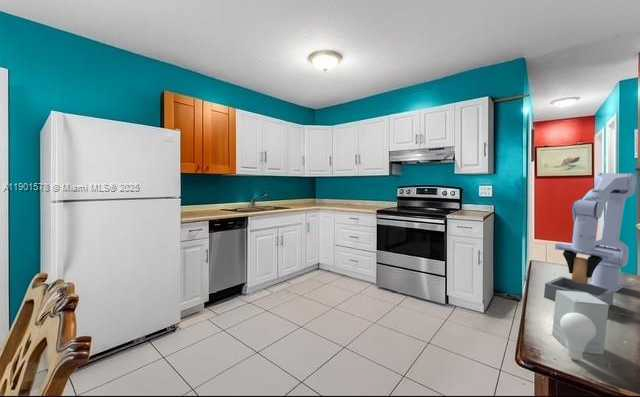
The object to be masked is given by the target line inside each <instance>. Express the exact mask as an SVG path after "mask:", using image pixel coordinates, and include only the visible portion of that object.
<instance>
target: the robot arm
mask: <svg viewBox="0 0 640 397" xmlns="http://www.w3.org/2000/svg"><path fill="white" fill-rule="evenodd" d="M636 185H637V176H636V174H635V173H613V172H611V173H603V172H598V173H597V174H596V176H595V178H594V187H595V188H592V189H590V190H589V191H588V192H586V194H585V195H584V196H583V197H582V198H581V199H578V200H575V201H574V202H573V206H572V211H571V212H572V220H573V222H574V224H573V230H572V231H573V233H572V242H571V244H564V243H555V248H554V249H555V250H556V251H557V250H558V251H559V250H560V251H563V252H562V255H563V257H564V259H565V261H566V264H567V268H568V273H569V274H572V272H573V263H574V257H577V254H579V255H585V256H588V257H587V259H588V271H587V278H588V279H590V278H592V280H591V281H590V282H589V281H588V283H589V284H593V285H596V286H600V287H604V288H608V289H612V290H614V293H616V292H618V291H619V290H621V289H623V288H624V285H621V277H622V269H621V267H622V268H623V267H625V266H627V264H628V262H629V254H630V253H629V246H627V244H626V243H625V242H622V241H621V240H620V235H621V229H622V222H623V218H624V216H623V215H624V210H625V203H626V200H627V198H629V197H632V196H634V194H635V191H636ZM605 205H606V208H605ZM604 210H605V214H604V221H603V228H602V234H601V238H598V239H597V235H598V227H599V226H598V225H599V219H600V218H601V217H602V215H603V212H604Z"/></svg>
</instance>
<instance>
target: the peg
mask: <svg viewBox="0 0 640 397" xmlns="http://www.w3.org/2000/svg"><path fill="white" fill-rule="evenodd" d="M587 271H588V258H585V257H579V256H576V257H574V263H573V272H572V275H571V279H572V281H573V282H576V283H580V284H587V283H589V278H587Z"/></svg>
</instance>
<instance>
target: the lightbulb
mask: <svg viewBox="0 0 640 397" xmlns="http://www.w3.org/2000/svg"><path fill="white" fill-rule="evenodd" d="M560 325H561V328H562V331H563V333H564V334H565V337H566V345H567V348H566V350H567V352H566V353H567V356H568V357H569V358H571V359H572V360H573V361H579V360H582V358H583V354H584V353H583V352H584V350H585V347H586V345H587V343H588V342H589V341H591V340H592V339H593V338H594V337H595V335H596V327H595V325H594V323H593V322H592V321H591V320H590V319H589V318H588V317H586V316H584V315H582V314H580V313H567V314H565V315H564V316H563V317H562V318H561V320H560Z"/></svg>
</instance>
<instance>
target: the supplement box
mask: <svg viewBox="0 0 640 397" xmlns="http://www.w3.org/2000/svg"><path fill="white" fill-rule="evenodd" d="M609 308H610V307H609V305H608V304H607V303H605V302H603V301H601V300H599V299H597V298H596V297H594V296H592V295H590V294H588V293H585V292H574V291H560V290H556V298H555V301H554V310H553V318H552V319H553V320H552V321H553V322H552V331H551V336H553V337H554V338H555V339H556V340H557V341H558V342H560V344H562V346H564V348H566V349H567V345H566V337H565V334H564V333H563V331H562V328H561V325H560V320H561V318H562V317H563V316H564V315H565V314H567V313H580V314H582V315H584V316H586V317H588V318H589V319H590V320H591V321H592V322H593V323H594V325H595V327H596V335H595V337H594V338H593V339H592V340H591V341H589V342H588V343H587V345H586V347H585V350H584V352H583V354H584V353H585V354H592V355H593V354H594V355H604V352H605V343H606V335H607V333H606V332H607V325H608V314H609Z"/></svg>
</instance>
